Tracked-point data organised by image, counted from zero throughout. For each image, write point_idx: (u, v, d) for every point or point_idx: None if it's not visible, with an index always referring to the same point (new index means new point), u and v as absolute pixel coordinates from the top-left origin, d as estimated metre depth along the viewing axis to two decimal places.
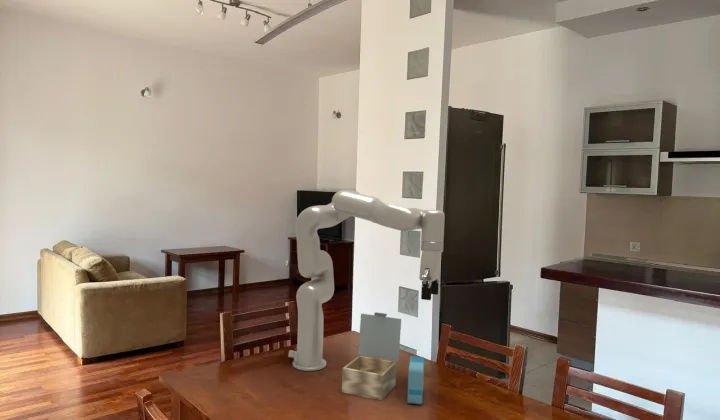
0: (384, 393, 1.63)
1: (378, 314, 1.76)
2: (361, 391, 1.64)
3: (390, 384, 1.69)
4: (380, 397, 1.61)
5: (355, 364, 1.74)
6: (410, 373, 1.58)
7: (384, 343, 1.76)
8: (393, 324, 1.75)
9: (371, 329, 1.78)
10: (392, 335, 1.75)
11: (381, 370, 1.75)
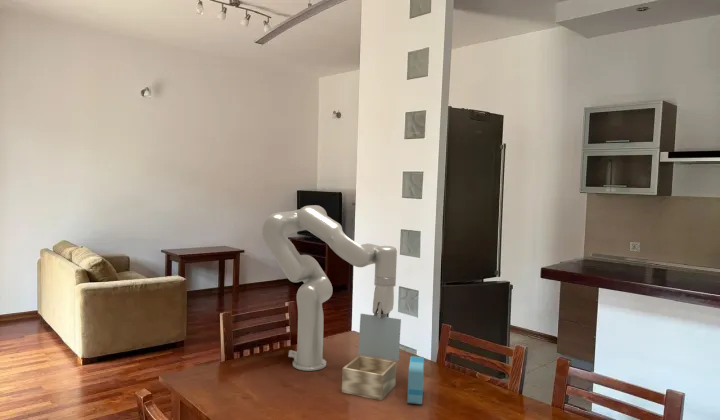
0: (384, 393, 1.63)
1: None
2: (361, 391, 1.64)
3: (390, 384, 1.69)
4: (380, 397, 1.61)
5: (355, 364, 1.74)
6: (410, 373, 1.58)
7: (384, 343, 1.76)
8: (393, 324, 1.75)
9: (371, 329, 1.78)
10: (392, 335, 1.75)
11: (381, 370, 1.75)
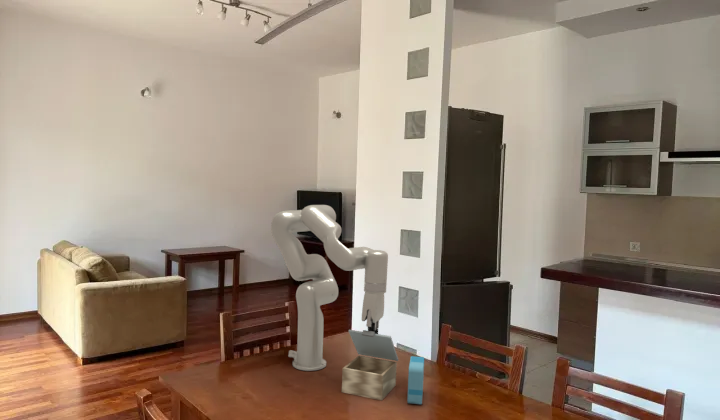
0: (384, 393, 1.63)
1: (366, 335, 1.66)
2: (361, 391, 1.64)
3: (390, 384, 1.69)
4: (380, 397, 1.61)
5: (355, 364, 1.74)
6: (410, 373, 1.58)
7: (380, 350, 1.72)
8: (384, 340, 1.67)
9: (363, 341, 1.72)
10: (386, 346, 1.69)
11: (381, 370, 1.75)
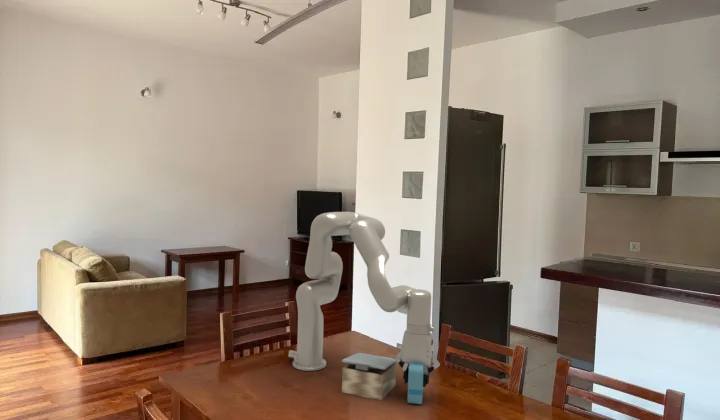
0: (384, 393, 1.63)
1: (360, 368, 1.63)
2: (361, 391, 1.64)
3: (390, 384, 1.69)
4: (380, 397, 1.61)
5: (355, 364, 1.74)
6: (410, 373, 1.58)
7: None
8: None
9: None
10: None
11: (381, 370, 1.75)
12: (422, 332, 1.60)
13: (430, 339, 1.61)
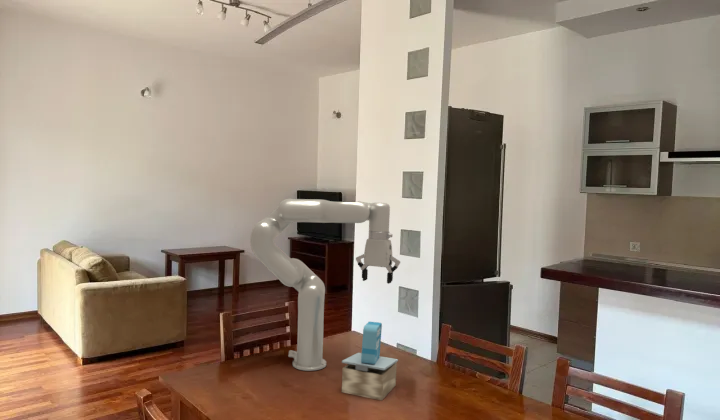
0: (384, 393, 1.63)
1: (360, 369, 1.63)
2: (361, 391, 1.64)
3: (390, 384, 1.69)
4: (380, 397, 1.61)
5: None
6: (364, 332, 1.65)
7: None
8: None
9: None
10: None
11: (381, 370, 1.75)
12: (381, 237, 1.85)
13: (388, 244, 1.86)
